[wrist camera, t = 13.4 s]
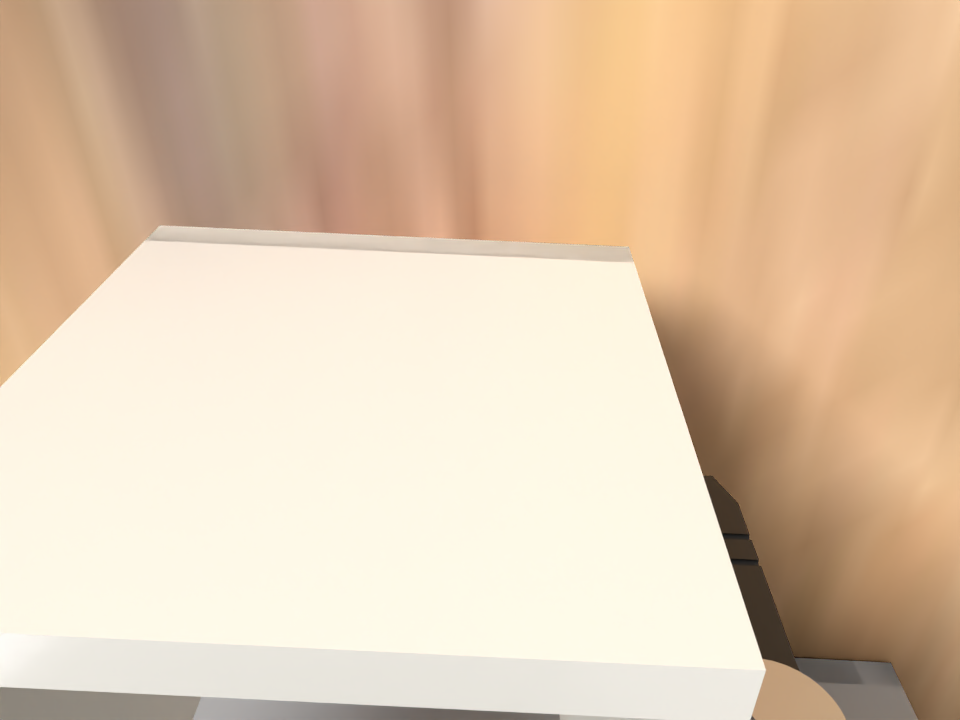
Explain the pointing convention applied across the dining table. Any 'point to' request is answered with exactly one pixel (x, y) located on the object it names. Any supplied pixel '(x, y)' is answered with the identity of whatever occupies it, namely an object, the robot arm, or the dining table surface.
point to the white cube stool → (361, 489)
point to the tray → (852, 684)
